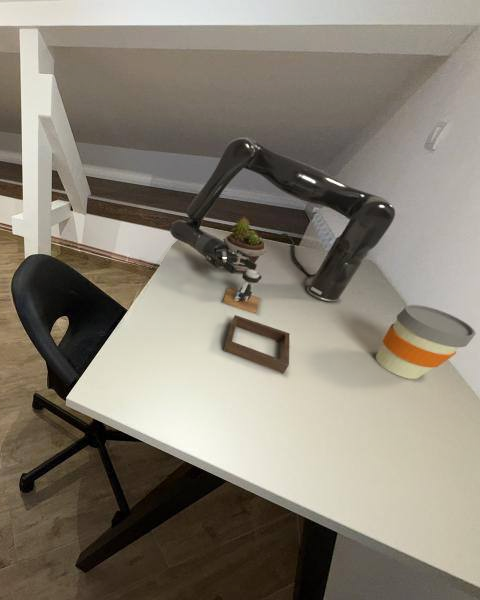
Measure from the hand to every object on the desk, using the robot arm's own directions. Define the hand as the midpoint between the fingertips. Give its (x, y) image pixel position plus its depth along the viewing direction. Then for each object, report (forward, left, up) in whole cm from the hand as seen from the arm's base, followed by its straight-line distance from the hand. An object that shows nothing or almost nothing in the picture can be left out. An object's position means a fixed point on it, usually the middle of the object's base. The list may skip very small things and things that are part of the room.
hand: (244, 269), depth 98 cm
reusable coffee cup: (+10, +41, -10) cm, 44 cm away
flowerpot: (-23, -3, -10) cm, 25 cm away
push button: (+2, +2, -10) cm, 10 cm away
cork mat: (+2, +2, -10) cm, 10 cm away
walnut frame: (+24, +8, -10) cm, 27 cm away
